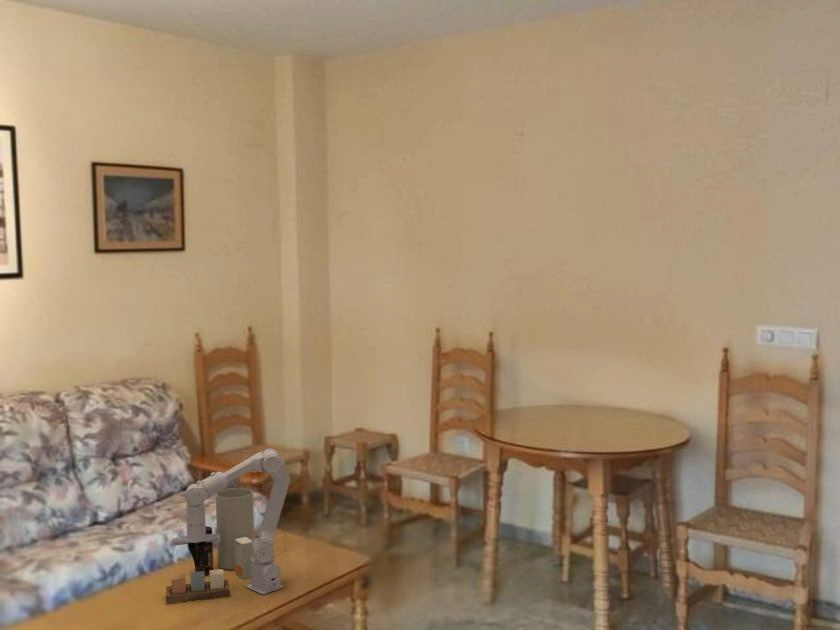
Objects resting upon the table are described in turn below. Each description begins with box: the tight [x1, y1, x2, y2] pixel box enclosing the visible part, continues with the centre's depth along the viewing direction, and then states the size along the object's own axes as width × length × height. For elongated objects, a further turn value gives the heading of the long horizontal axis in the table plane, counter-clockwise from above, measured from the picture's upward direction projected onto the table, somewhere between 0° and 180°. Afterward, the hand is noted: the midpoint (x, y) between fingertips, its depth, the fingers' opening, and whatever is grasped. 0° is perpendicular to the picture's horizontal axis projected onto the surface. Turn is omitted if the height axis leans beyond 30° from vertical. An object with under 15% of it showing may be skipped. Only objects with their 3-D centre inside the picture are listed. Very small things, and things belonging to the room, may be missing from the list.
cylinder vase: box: [215, 487, 255, 571], centre depth 285 cm, size 12×12×25 cm
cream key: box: [208, 568, 225, 590], centre depth 260 cm, size 4×4×5 cm
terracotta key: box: [170, 573, 187, 594], centre depth 257 cm, size 4×4×5 cm
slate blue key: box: [190, 571, 206, 592], centre depth 258 cm, size 4×4×5 cm
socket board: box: [165, 579, 231, 605], centre depth 259 cm, size 9×19×2 cm, turn 106°
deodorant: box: [194, 525, 214, 577], centre depth 277 cm, size 6×6×15 cm
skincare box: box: [234, 537, 253, 580], centre depth 274 cm, size 6×4×12 cm
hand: (197, 565), depth 258 cm, fingers closed
